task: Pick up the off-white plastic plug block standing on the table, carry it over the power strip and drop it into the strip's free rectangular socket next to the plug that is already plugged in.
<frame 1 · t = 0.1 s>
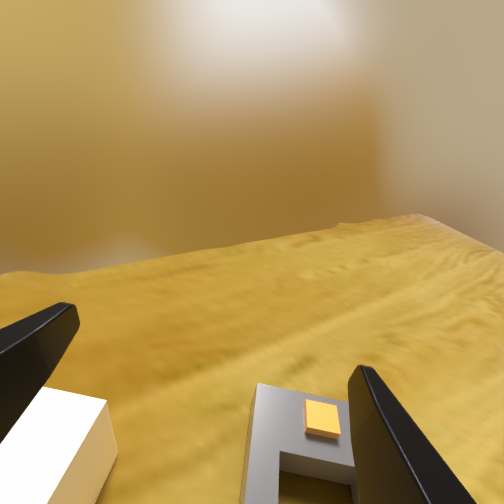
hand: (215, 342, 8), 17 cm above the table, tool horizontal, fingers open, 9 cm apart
plug: (66, 491, 17), on the table
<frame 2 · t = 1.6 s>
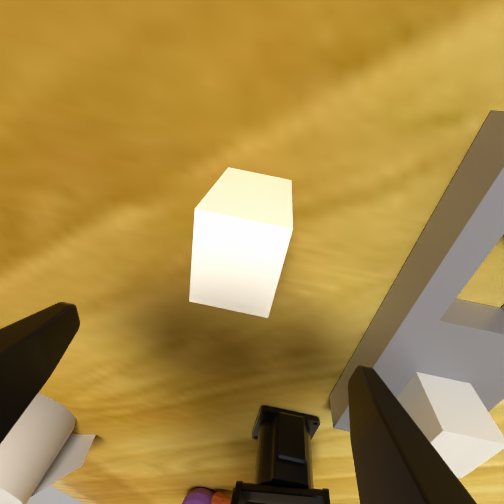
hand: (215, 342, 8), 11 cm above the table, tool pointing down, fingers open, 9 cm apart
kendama: (242, 484, 42), on the table
toilet tissue: (53, 414, 37), on the table
plug: (253, 210, 18), on the table
power strip: (448, 314, 20), on the table
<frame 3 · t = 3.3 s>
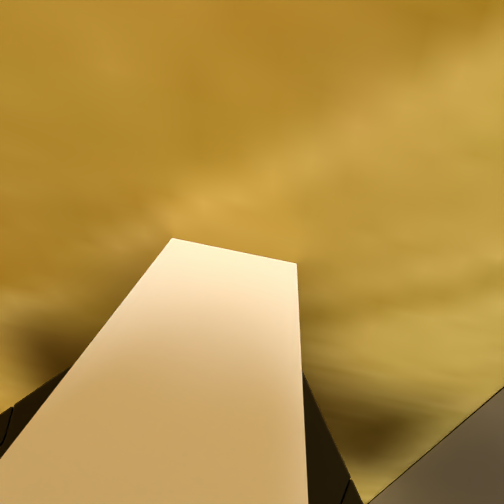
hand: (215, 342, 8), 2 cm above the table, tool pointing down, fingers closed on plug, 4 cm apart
plug: (225, 308, 10), on the table, touching gripper
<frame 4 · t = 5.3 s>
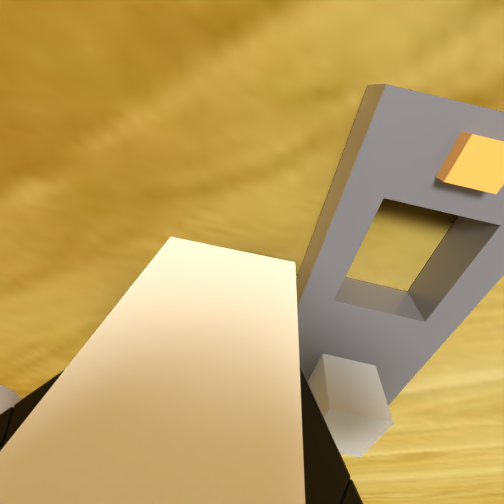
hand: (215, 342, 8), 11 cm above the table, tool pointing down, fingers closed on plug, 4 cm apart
toilet tissue: (3, 399, 37), on the table
plug: (223, 307, 10), point 9 cm above the table, touching gripper
power strip: (359, 297, 20), on the table
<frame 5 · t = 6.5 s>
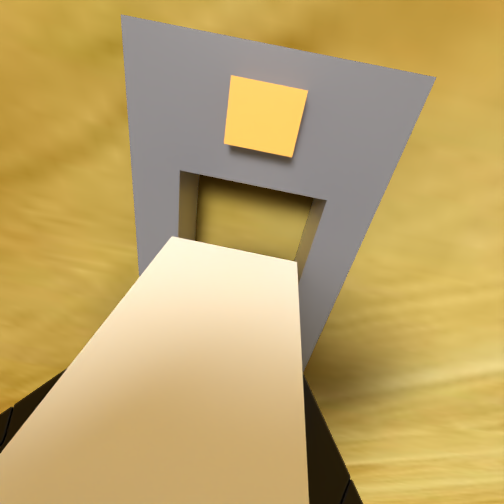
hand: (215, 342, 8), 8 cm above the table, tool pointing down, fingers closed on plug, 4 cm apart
plug: (225, 307, 10), point 6 cm above the table, touching gripper
power strip: (236, 295, 18), on the table
when the fingers open (4 cm above the table, at t = 7.5 s): plug drops 3 cm, resting in power strip.
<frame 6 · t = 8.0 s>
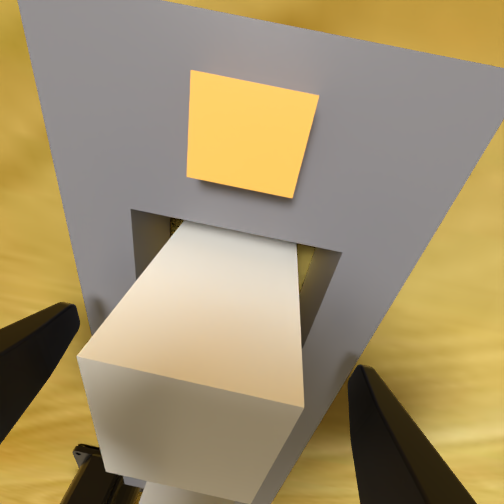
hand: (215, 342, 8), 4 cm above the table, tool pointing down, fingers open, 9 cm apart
plug: (236, 267, 12), resting in power strip
power strip: (223, 343, 14), on the table
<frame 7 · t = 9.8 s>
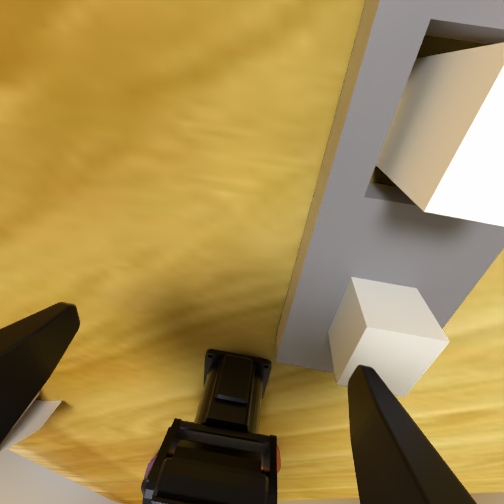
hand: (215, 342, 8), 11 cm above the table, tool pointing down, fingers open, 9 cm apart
toilet tissue: (16, 379, 35), on the table
plug: (429, 122, 14), resting in power strip
power strip: (391, 210, 17), on the table
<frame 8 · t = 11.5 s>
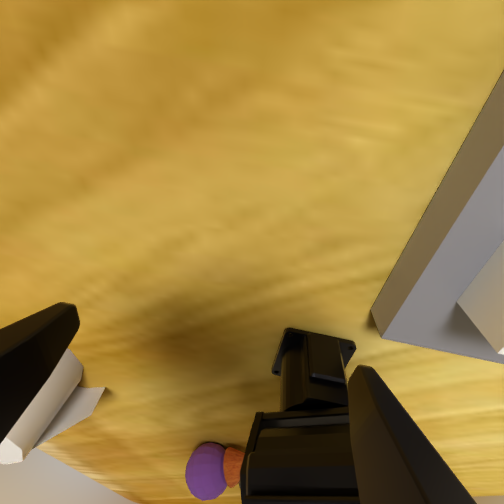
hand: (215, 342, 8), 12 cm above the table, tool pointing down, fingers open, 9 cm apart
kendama: (259, 439, 37), on the table
toilet tissue: (57, 363, 32), on the table
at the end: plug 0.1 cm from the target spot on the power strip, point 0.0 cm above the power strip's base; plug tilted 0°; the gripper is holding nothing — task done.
